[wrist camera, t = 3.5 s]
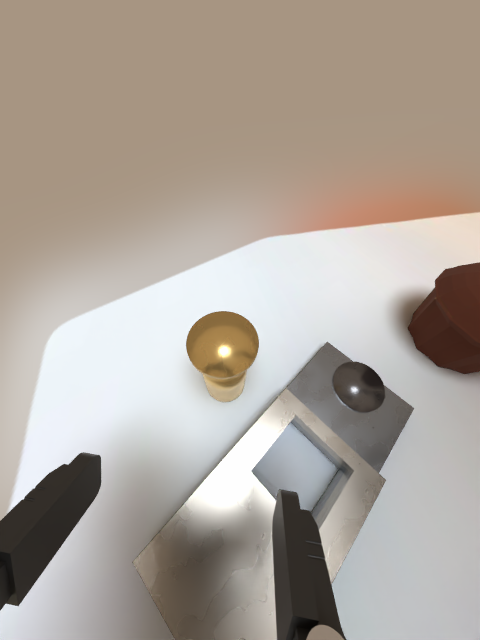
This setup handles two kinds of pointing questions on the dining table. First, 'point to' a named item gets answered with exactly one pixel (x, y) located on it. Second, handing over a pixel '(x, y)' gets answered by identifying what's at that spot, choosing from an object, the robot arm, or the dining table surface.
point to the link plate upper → (246, 535)
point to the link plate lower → (350, 409)
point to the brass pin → (223, 352)
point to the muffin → (451, 320)
